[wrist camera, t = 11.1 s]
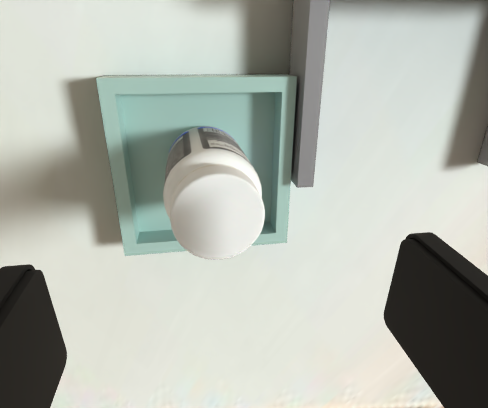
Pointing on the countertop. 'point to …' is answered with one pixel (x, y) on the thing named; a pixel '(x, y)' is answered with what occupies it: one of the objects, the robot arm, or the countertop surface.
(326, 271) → the countertop surface
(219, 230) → the pill bottle
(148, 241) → the tray
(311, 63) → the bay
